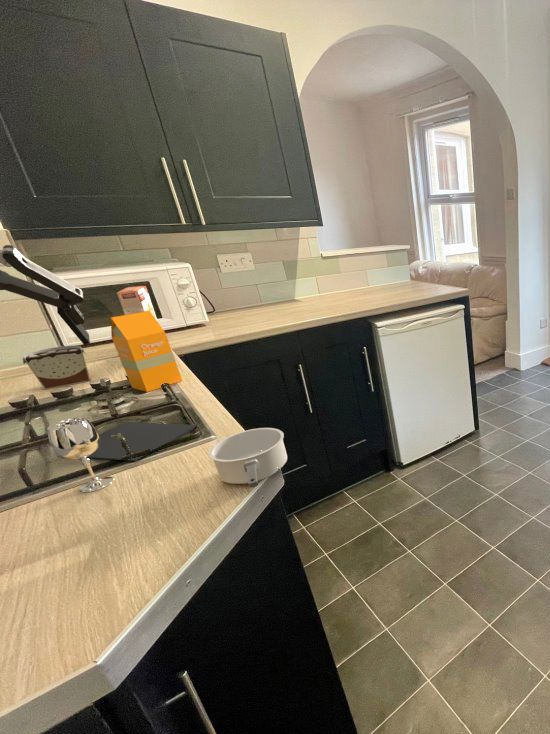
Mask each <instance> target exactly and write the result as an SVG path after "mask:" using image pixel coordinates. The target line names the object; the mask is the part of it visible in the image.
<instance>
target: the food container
mask: <svg viewBox="0 0 550 734" xmlns="http://www.w3.org/2000/svg"><path fill="white" fill-rule="evenodd" d="M84 354H85V355H86V354H87V352H86V351H85V349H84V348H83V347H81V346H80V345H63V346H62V345H61V346H56V347H47V348H43V349H39V350H35V351H32V352H29V353H26V354H24V355H22V364H23V365H25V364H27V366H28V367H29V369H30V370H31V372H32V373H33V374H34V377H35V378H36V379H37V380H38V382H39V384H40V385H41V386H42V388H43V390H45V391H46V390H51V389H56V388H62V387H67V386H73V385H78V384H84V383H89V382H91V381H92V380H91V377H90V373H89V370H88V366H87V363H86V359H85V356H84Z"/></svg>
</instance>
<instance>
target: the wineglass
mask: <svg viewBox="0 0 550 734" xmlns="http://www.w3.org/2000/svg"><path fill="white" fill-rule="evenodd" d="M46 430H47V438H48V443H49V446H50V448H51V450H52V452H53V453H54V455H56V456H57V457H58V456H59V457H58V458H61V459H64V460H67V461H68V460H70V461H71V460H73V461H75V460H81V464H82V465H83V466H84V467H85V468H86V469H87V471H88V473H89V475H90V478H91V480H90V481H88V482H85V483H84V484H83V485H81V486H80V487H79V492H80V493H91V492H96V491H98V490H101V489H104V488H105V487H108V486H109V485H111V484H112V483H113V482H114V480H115V478H114V477H113V476H102V477H97V476H96V474H95V473H94V471H93V468H92V461H91V459H88V458H87V457H88V456H90V455H91V454H93V453H94V452H96V451H97V450H98V449H99V447H100V445H101V438H100V433H99V431H98V430H97V428H96V427H95V425H94V424H93V423H92V422H91V421H90V420H89V419H88V418H87V417H86V416H78V417H77V416H75V417H70V418H67V419H63V420H60V421H59V420H58V421H57V422H55V423H52V424H50V425H49V426H48V427H47V429H46Z"/></svg>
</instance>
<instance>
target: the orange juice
mask: <svg viewBox="0 0 550 734" xmlns="http://www.w3.org/2000/svg"><path fill="white" fill-rule="evenodd" d="M157 321H158V319H157V320H156V319H155V318H154V316H153V315H152V313H151V312H150V310H148V311H143V312H137V313H132V314H127V315H125V314H122V315H117V316H111V317H110V328H111V331H110V333H111V335H110V336H111V340H112V342H113V344H114V347H115V350H116V352H117V355H118V357H119V360H120V362H121V365H122V367H123V369H124V371H125V375H126V376H127V380H128V381H129V384H130V387H131V388H132V389H135V390H137V391H141V392H146V393H148V392H151V391H154V390H157V389H160V388H162V387H161V385H162V384H164V383H169V384H170V385H173V384H175V383H178V382H182V381H183V380H182V375H181V374H180V370H179V368H178V364H177V362H176V359H175V356H174V353H173V350H172V348H171V345H170V342H169V340H168V336H167V333H166V331H165V329H164V328H163V327H162V326H161V324H160V323H159V321H158V322H157Z"/></svg>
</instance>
